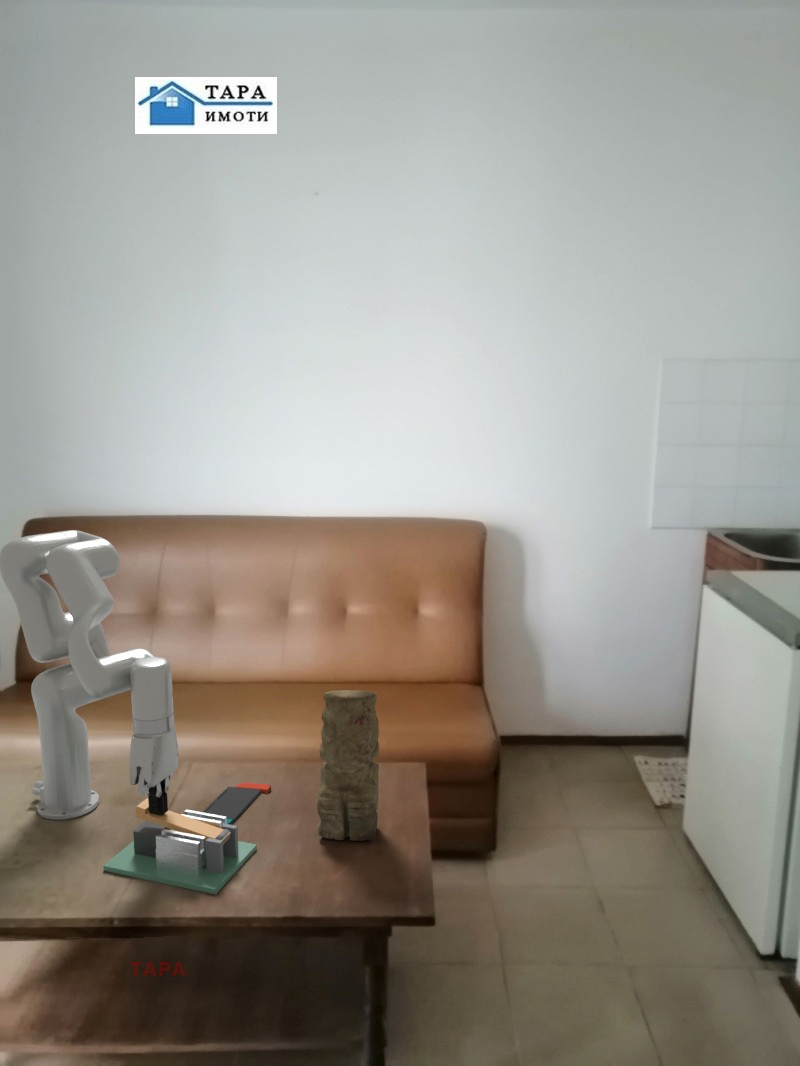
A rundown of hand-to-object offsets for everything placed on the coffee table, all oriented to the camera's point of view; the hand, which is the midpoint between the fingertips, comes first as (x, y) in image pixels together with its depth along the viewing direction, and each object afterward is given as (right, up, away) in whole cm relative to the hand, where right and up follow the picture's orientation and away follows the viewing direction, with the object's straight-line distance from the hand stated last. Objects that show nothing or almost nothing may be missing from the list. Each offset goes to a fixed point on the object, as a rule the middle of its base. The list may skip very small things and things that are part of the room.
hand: (158, 812), depth 164 cm
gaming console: (+10, -6, +22) cm, 25 cm away
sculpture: (+36, -8, +10) cm, 38 cm away
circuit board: (+4, -9, 0) cm, 10 cm away
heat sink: (+7, -9, 0) cm, 12 cm away
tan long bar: (+5, -3, -1) cm, 6 cm away
